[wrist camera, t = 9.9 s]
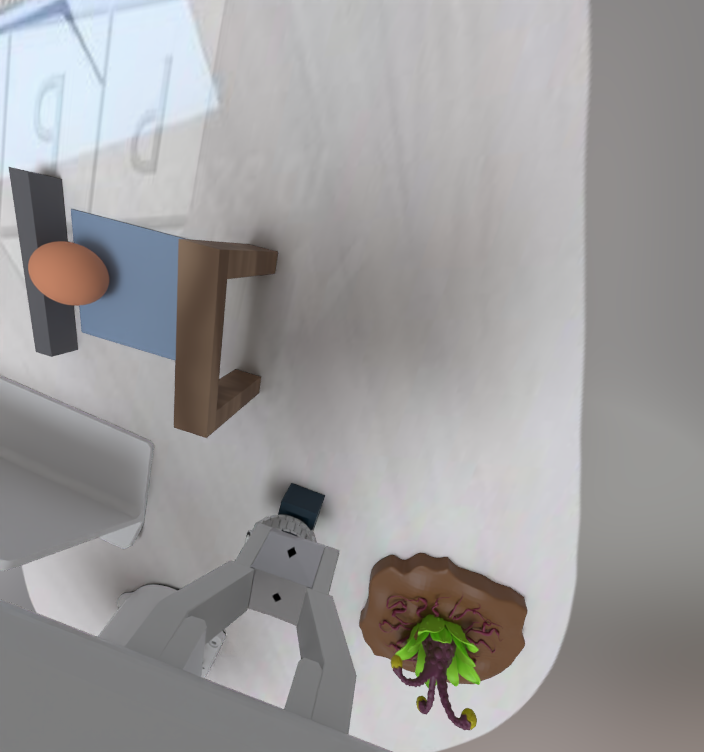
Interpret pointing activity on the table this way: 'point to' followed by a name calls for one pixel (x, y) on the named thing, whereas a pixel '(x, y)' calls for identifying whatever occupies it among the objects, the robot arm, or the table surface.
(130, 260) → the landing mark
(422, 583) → the plant
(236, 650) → the table surface
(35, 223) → the stopper
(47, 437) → the tablet stand
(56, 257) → the ball
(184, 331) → the bridge
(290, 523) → the watch
